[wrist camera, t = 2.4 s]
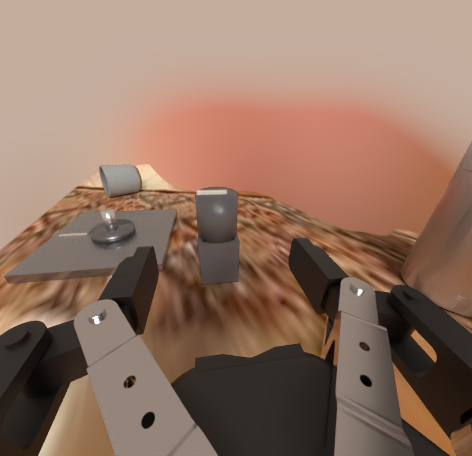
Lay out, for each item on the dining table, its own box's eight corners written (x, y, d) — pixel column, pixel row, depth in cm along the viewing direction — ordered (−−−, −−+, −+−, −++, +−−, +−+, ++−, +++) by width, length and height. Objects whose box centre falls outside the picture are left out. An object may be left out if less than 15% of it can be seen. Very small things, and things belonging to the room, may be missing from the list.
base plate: (177, 214, 42) (174, 190, 40) (163, 270, 27) (156, 238, 24) (84, 218, 39) (74, 193, 37) (9, 283, 24) (-17, 248, 21)
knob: (233, 259, 29) (234, 184, 24) (238, 281, 25) (241, 197, 20) (201, 261, 28) (195, 184, 23) (201, 285, 24) (194, 199, 19)
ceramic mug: (146, 193, 53) (139, 164, 49) (112, 200, 48) (102, 168, 44) (132, 185, 60) (125, 158, 56) (101, 190, 55) (92, 162, 51)
